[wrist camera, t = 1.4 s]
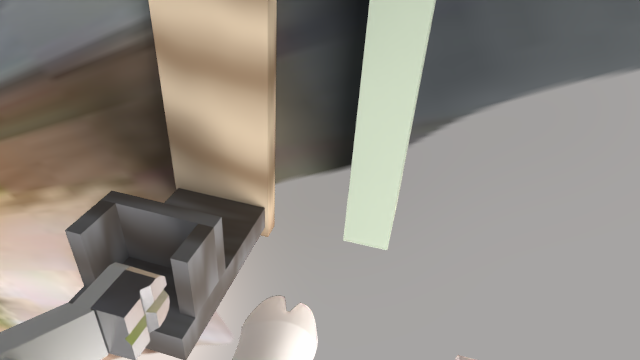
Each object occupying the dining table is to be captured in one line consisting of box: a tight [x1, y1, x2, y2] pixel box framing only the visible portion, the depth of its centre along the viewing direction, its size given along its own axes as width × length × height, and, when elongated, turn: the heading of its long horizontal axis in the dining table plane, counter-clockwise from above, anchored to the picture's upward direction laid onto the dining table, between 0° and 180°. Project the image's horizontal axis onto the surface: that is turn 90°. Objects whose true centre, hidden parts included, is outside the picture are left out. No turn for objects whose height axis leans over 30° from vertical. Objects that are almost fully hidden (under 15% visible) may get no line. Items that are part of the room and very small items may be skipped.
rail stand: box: [65, 0, 277, 360], centre depth 24 cm, size 29×8×14 cm, turn 176°
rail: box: [343, 0, 436, 250], centre depth 26 cm, size 20×3×5 cm, turn 177°
